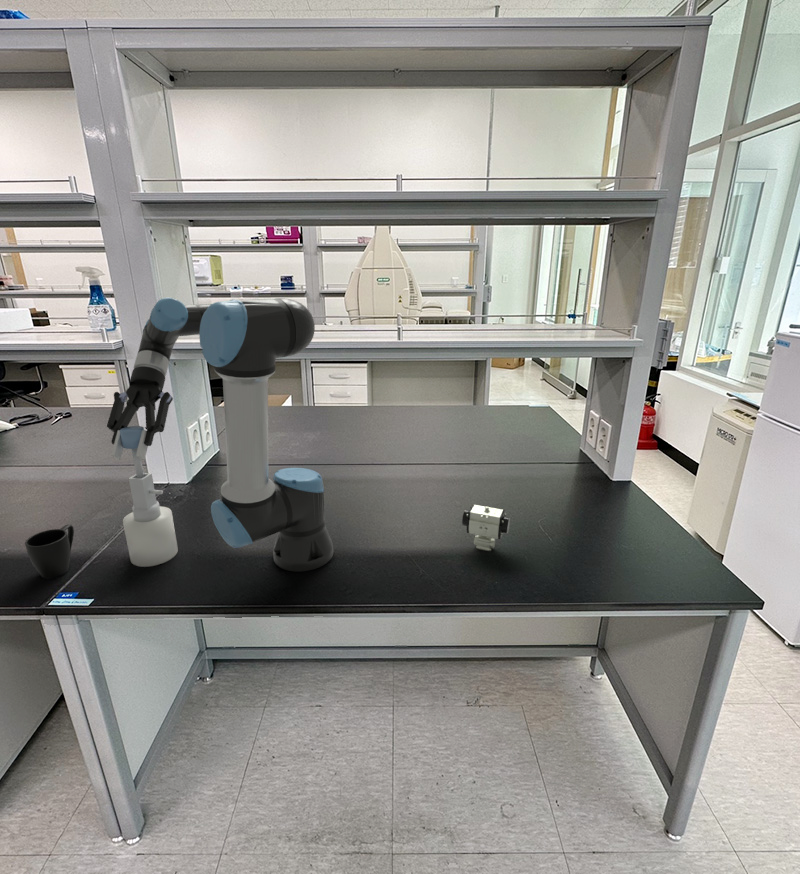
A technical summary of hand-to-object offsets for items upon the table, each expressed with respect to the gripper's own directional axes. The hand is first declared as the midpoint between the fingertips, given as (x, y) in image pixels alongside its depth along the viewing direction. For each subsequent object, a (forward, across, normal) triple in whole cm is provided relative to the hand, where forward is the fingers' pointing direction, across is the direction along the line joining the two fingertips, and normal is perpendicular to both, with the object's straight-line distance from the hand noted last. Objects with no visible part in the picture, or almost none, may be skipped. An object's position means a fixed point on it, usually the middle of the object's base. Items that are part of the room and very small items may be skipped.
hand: (128, 457), depth 113 cm
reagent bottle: (+17, 0, -23) cm, 28 cm away
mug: (+21, +20, -19) cm, 35 cm away
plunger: (+3, 0, -8) cm, 8 cm away
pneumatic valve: (+16, -86, -24) cm, 90 cm away
